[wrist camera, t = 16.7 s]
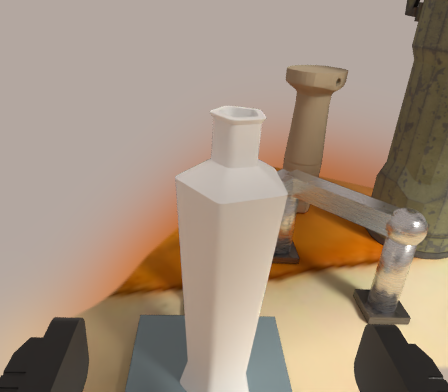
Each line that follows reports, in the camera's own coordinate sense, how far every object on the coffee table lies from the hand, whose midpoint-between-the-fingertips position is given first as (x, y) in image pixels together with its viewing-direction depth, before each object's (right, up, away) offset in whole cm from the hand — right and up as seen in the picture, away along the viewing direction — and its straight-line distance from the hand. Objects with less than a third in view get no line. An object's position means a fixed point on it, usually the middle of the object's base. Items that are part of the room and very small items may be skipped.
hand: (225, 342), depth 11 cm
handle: (+8, +3, +32) cm, 33 cm away
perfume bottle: (-1, -6, +10) cm, 12 cm away
